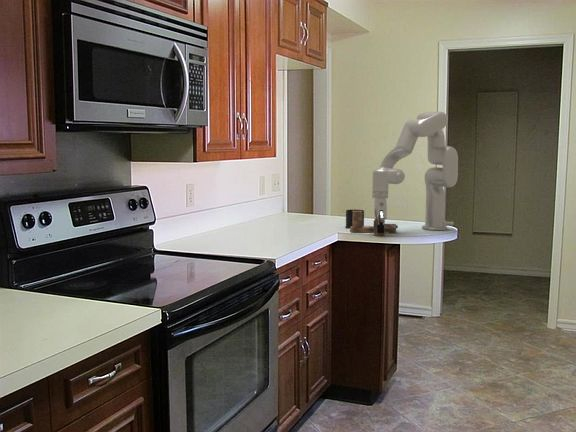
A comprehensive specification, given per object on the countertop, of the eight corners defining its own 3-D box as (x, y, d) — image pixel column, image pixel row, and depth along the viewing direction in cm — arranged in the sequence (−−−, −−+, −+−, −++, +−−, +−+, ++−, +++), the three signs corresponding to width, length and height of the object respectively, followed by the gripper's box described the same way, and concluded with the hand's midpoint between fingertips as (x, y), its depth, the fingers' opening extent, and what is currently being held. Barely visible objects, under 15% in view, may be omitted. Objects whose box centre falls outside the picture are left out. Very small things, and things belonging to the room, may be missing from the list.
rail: (395, 230, 314) (395, 210, 313) (397, 233, 307) (398, 212, 305) (350, 230, 314) (350, 210, 313) (351, 233, 307) (351, 212, 306)
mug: (368, 226, 329) (369, 209, 328) (359, 229, 319) (359, 212, 317) (352, 225, 334) (352, 208, 332) (342, 228, 323) (342, 210, 322)
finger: (383, 234, 304) (383, 218, 303) (384, 235, 300) (384, 219, 299) (373, 234, 304) (373, 218, 303) (374, 235, 300) (374, 219, 299)
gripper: (390, 196, 291) (389, 234, 293) (385, 193, 308) (384, 229, 310) (374, 196, 291) (374, 234, 293) (370, 193, 308) (369, 229, 310)
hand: (379, 231), depth 301 cm, fingers open, 6 cm apart
